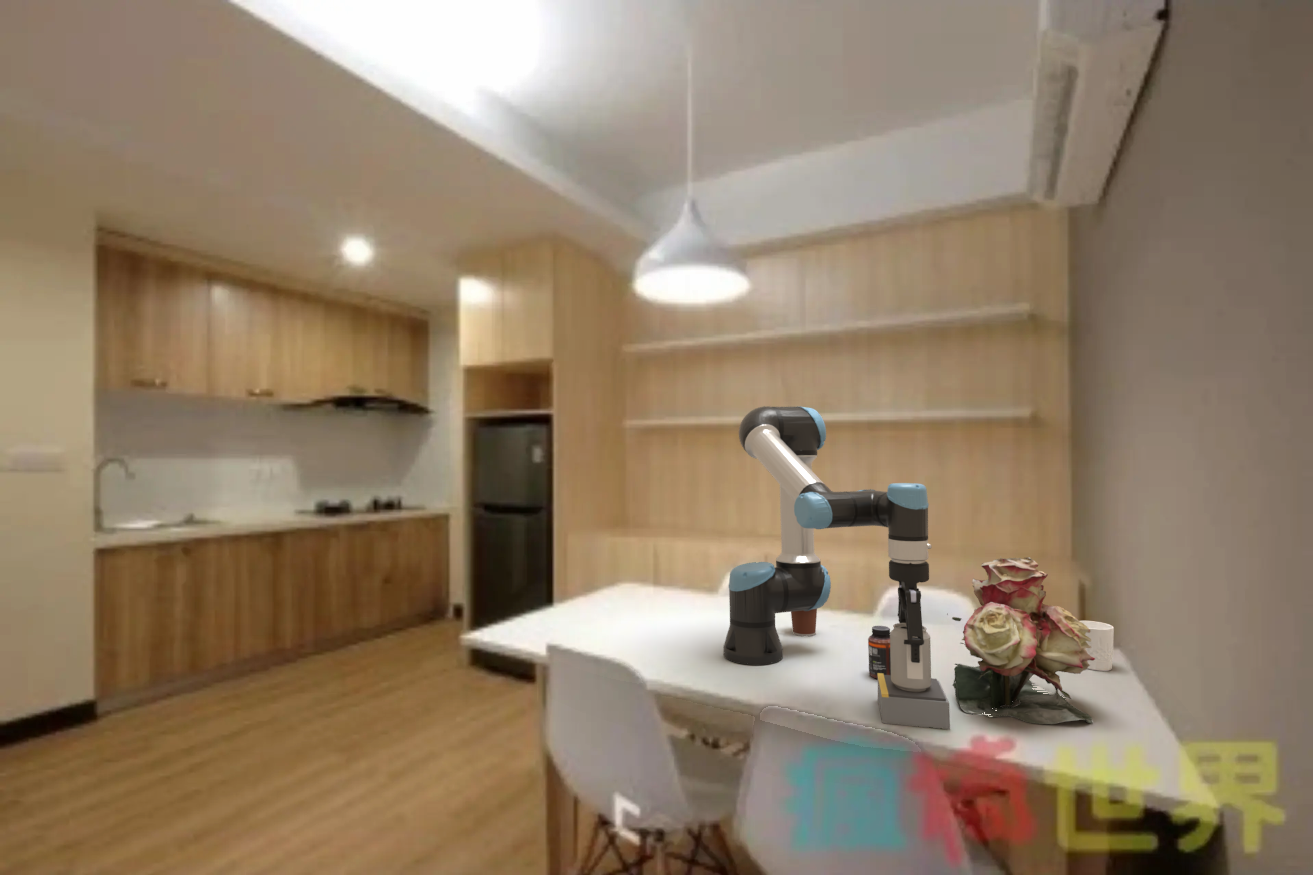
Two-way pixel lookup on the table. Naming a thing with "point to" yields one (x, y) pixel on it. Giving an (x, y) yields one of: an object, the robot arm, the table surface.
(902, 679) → the can
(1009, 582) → the rose bouquet
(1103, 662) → the white cup
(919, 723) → the block
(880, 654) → the supplement bottle
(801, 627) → the coffee cup
